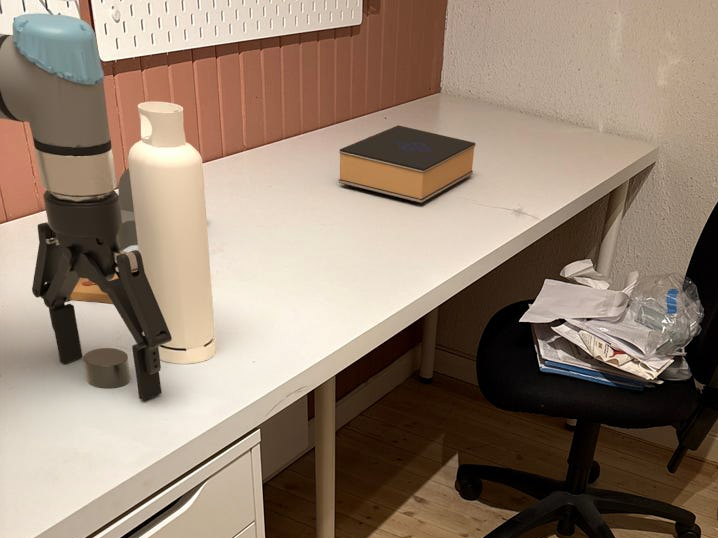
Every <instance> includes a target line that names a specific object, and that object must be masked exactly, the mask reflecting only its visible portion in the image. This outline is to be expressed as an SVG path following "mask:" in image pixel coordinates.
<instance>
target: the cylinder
mask: <svg viewBox="0 0 718 538" xmlns="http://www.w3.org/2000/svg"><path fill="white" fill-rule="evenodd" d="M82 358H83V366H84V369H85V375H86V381H87V382H88V383H89V384H90V385H91V386H93V387H95V388H102V389H114V388H119V387H120V388H121V387H123V386H125V385H128V384H129V383H130V382H131V380H132V374H131V367H130V366H131V365H130V359H129V355H128V353H127V352H125V351H124V350H122V349H118V348H113V347H101V348H95V349H92V350H89V351H87V352H85V354H84V355H83V357H82Z"/></svg>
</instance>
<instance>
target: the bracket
mask: <svg viewBox="0 0 718 538" xmlns="http://www.w3.org/2000/svg"><path fill="white" fill-rule="evenodd" d="M117 186H118V195H119V201H120V208H121V216H122V228H121V230H120V231H119V233H118V235H117V242H118V245H119V247H120V249H121V251H124V250H126V248H128V247H130V246H137V245H138V240H137V232H136V223H135V215H134V206H133V198H132V190H131V181H130V173H129V167H128V168H127V169H125V170H124V171H123V173H122V175H120V178H119V181H118V184H117Z"/></svg>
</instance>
